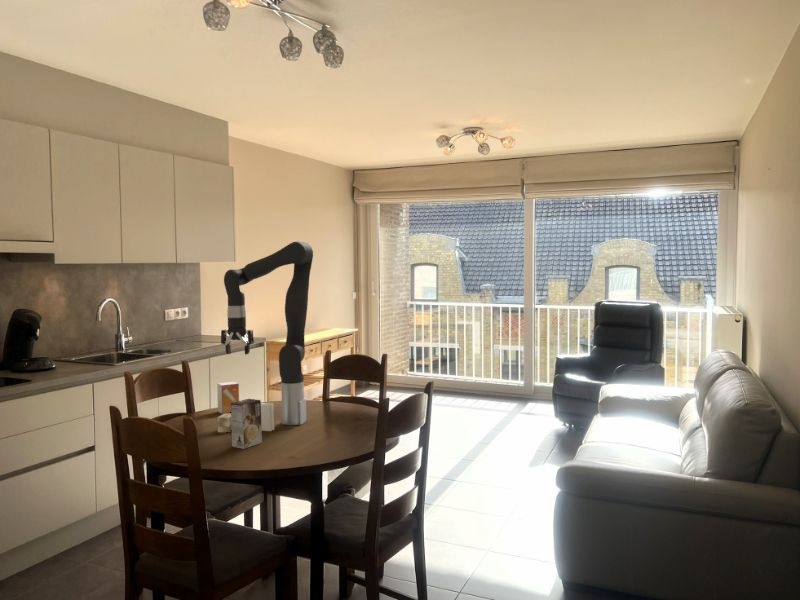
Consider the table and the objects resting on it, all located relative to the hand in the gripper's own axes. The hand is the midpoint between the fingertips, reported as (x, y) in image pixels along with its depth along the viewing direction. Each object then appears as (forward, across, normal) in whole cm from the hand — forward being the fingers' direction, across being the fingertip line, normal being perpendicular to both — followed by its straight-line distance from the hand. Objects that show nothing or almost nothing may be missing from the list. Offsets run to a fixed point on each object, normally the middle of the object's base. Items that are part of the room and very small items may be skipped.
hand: (237, 354), depth 263 cm
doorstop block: (+28, -4, +18) cm, 34 cm away
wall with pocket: (+28, -18, +15) cm, 37 cm away
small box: (+28, +12, -12) cm, 33 cm away
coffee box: (+28, -23, +36) cm, 51 cm away
